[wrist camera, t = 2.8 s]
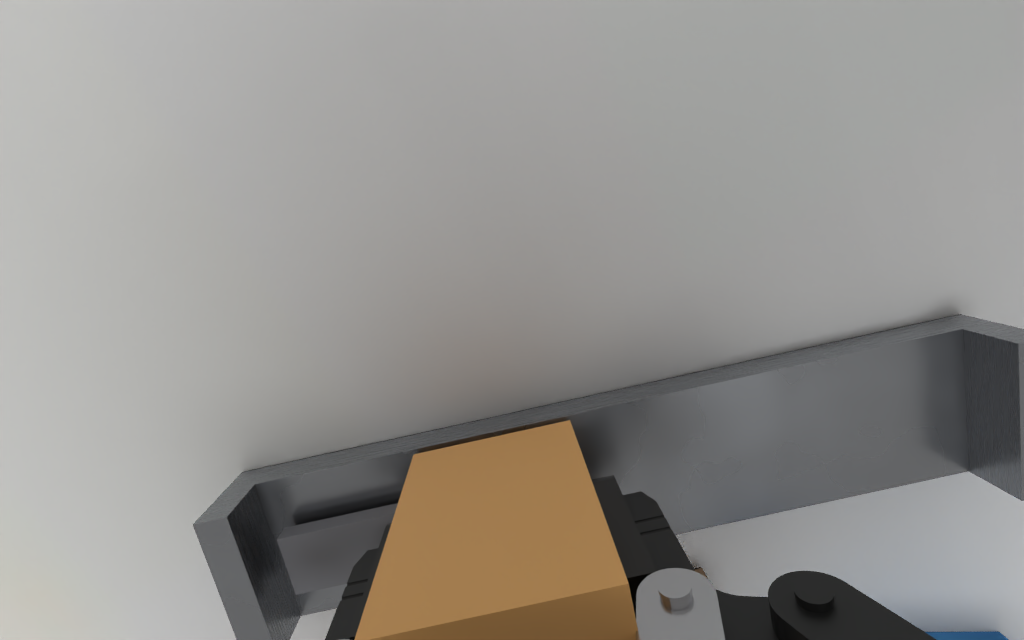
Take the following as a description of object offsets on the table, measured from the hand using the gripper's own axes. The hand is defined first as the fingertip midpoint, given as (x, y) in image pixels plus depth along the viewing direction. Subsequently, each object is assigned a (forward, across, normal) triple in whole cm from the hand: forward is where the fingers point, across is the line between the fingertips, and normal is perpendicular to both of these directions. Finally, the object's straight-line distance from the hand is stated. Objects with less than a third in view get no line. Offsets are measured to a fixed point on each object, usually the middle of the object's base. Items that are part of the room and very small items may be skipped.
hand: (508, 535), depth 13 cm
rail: (+2, -3, 0) cm, 4 cm away
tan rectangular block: (+1, +2, 0) cm, 2 cm away
